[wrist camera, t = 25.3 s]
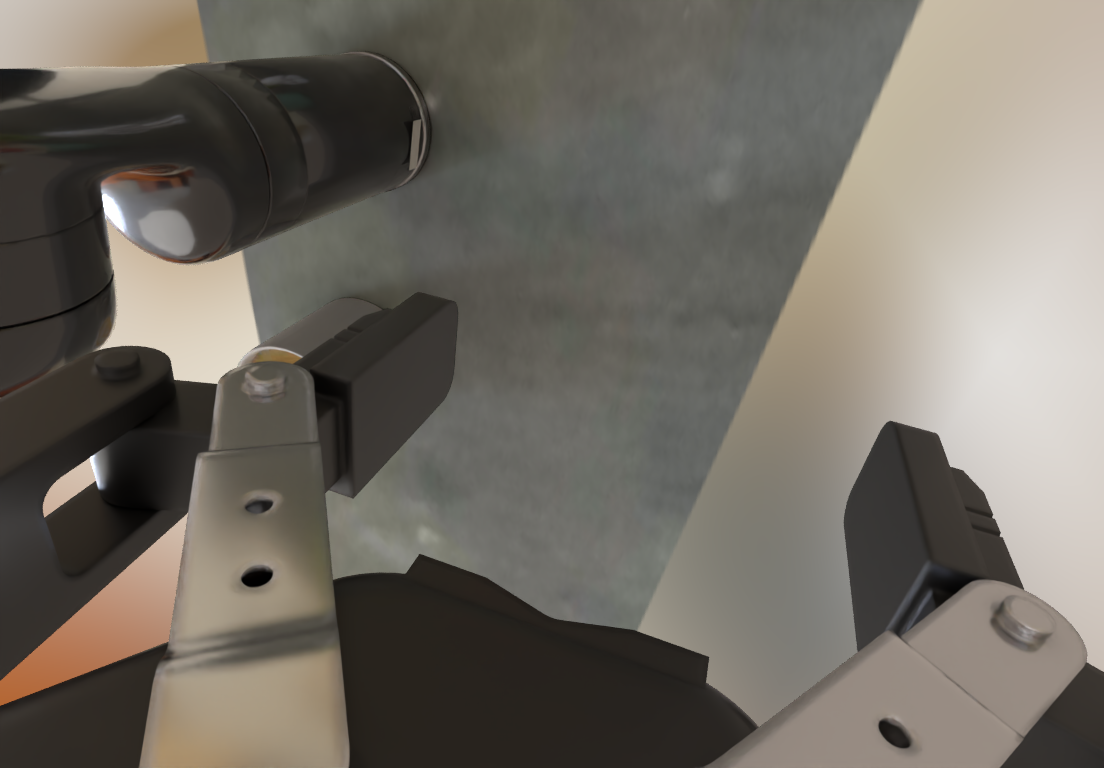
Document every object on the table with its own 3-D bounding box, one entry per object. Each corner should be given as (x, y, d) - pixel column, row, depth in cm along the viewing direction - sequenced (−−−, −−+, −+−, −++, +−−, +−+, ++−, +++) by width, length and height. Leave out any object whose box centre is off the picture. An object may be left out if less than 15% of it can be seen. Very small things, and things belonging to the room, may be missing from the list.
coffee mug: (309, 285, 56) (226, 331, 48) (414, 313, 54) (346, 365, 46) (318, 415, 63) (247, 474, 55) (412, 443, 61) (352, 509, 53)
